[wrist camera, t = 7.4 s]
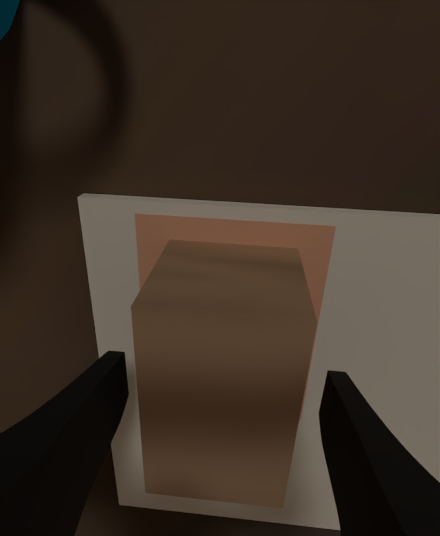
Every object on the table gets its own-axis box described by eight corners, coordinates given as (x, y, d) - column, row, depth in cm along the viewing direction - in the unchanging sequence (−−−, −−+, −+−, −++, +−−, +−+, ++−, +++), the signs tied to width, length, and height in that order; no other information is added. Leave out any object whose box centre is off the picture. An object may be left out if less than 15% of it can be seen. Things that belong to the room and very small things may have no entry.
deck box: (276, 402, 18) (282, 508, 13) (173, 392, 18) (145, 492, 14) (298, 248, 14) (317, 322, 10) (169, 239, 15) (130, 306, 10)
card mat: (621, 225, 13) (637, 231, 13) (455, 532, 22) (461, 544, 21) (83, 193, 15) (77, 197, 14) (122, 495, 23) (118, 505, 22)
